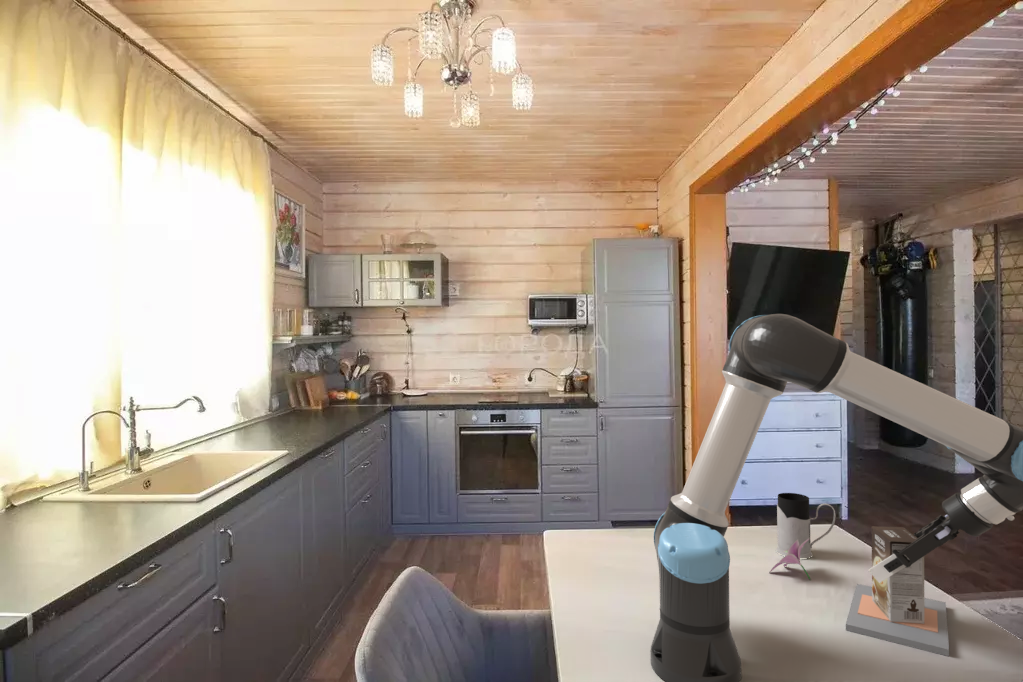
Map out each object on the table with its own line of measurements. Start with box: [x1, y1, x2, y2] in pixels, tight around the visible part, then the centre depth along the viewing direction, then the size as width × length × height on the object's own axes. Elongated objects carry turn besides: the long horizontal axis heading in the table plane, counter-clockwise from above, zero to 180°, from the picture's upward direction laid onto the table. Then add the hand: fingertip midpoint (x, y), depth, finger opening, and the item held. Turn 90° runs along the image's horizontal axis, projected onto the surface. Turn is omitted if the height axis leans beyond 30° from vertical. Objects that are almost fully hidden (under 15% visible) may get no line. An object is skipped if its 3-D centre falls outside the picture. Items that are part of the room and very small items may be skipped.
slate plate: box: [845, 583, 950, 657], centre depth 115 cm, size 22×16×1 cm
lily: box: [769, 537, 811, 580], centre depth 136 cm, size 12×12×10 cm
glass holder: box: [775, 492, 836, 558], centre depth 149 cm, size 9×14×15 cm, turn 70°
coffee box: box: [871, 525, 925, 624], centre depth 115 cm, size 9×6×16 cm
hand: (882, 566), depth 117 cm, fingers open, 12 cm apart
